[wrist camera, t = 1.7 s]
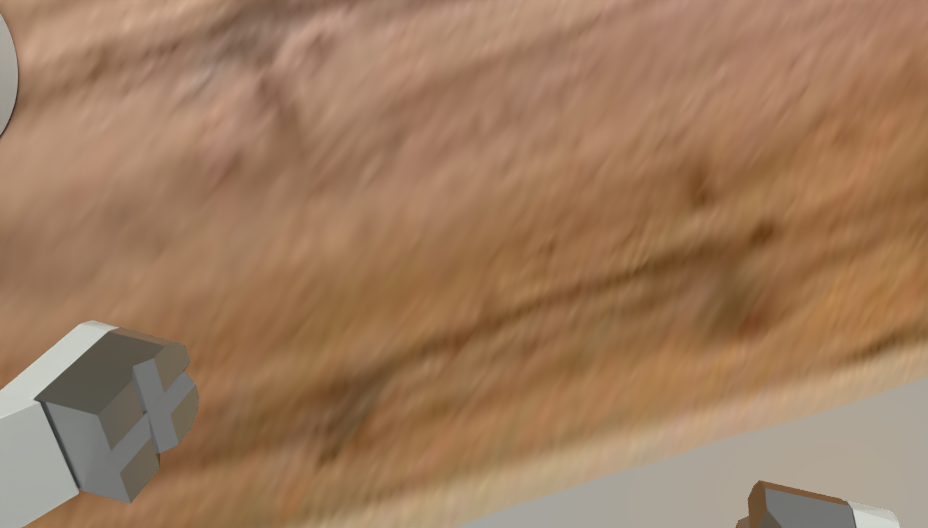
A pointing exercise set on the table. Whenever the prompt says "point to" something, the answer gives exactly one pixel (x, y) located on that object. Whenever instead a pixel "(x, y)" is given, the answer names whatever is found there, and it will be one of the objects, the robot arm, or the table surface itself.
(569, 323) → the table surface
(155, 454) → the robot arm
